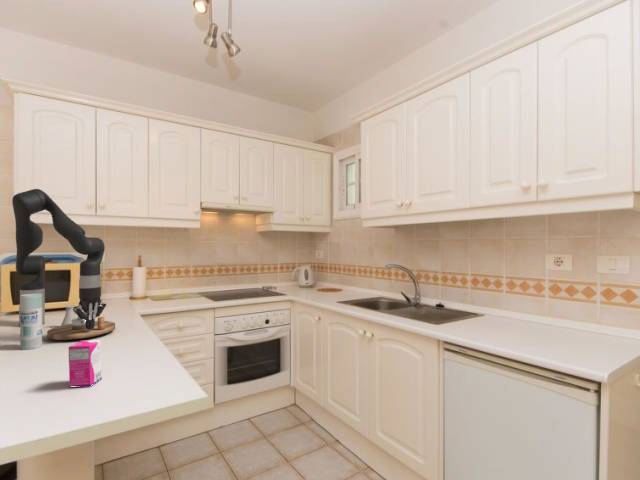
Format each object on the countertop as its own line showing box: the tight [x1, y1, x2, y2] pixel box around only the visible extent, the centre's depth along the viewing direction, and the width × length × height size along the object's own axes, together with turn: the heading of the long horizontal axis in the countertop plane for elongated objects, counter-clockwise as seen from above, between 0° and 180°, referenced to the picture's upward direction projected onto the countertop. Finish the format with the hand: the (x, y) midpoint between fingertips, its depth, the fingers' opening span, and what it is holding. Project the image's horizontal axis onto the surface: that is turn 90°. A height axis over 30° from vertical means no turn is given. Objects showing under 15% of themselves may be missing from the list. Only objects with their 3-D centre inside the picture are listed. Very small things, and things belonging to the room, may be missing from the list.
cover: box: [72, 316, 87, 330], centre depth 147 cm, size 7×7×5 cm
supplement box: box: [68, 339, 103, 387], centre depth 96 cm, size 6×6×12 cm
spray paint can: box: [19, 293, 43, 351], centre depth 130 cm, size 6×6×20 cm
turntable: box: [46, 316, 116, 341], centre depth 147 cm, size 24×24×7 cm
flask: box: [60, 305, 77, 326], centre depth 160 cm, size 7×7×10 cm
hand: (90, 328), depth 139 cm, fingers closed
